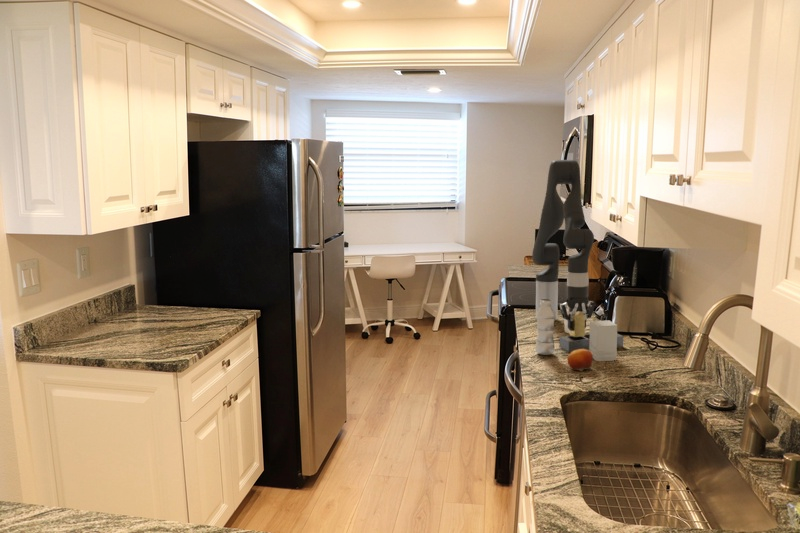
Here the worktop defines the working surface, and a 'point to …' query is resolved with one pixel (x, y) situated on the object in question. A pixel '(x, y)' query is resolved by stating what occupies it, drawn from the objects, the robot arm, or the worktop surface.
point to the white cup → (567, 322)
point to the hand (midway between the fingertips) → (576, 329)
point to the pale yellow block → (578, 325)
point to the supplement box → (603, 340)
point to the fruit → (580, 359)
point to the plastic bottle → (545, 328)
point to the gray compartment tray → (581, 342)
